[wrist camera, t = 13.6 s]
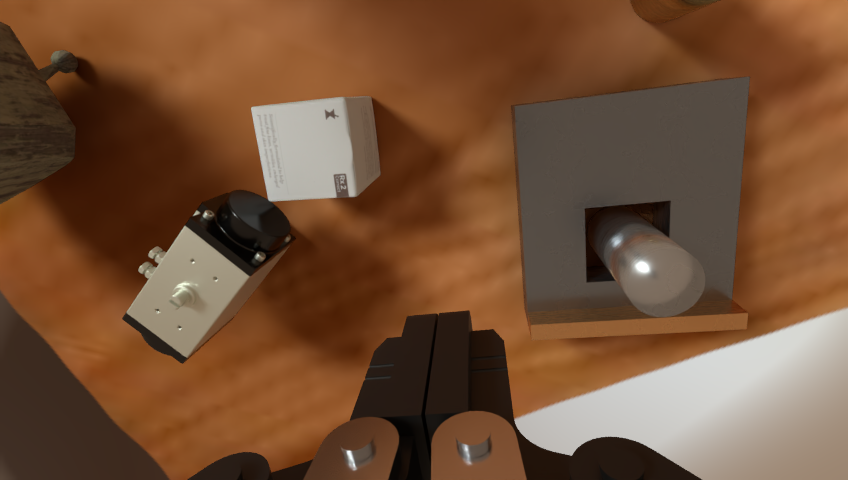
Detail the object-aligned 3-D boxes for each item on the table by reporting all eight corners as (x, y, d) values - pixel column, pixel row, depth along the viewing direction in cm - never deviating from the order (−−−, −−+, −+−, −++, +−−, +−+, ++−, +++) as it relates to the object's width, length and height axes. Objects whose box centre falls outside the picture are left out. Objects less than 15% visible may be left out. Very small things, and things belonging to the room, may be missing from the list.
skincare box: (294, 103, 34) (246, 104, 27) (373, 95, 33) (344, 95, 26) (308, 183, 36) (266, 203, 29) (382, 177, 35) (358, 197, 28)
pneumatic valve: (328, 208, 36) (259, 259, 25) (251, 304, 39) (160, 388, 28) (273, 162, 35) (176, 192, 24) (200, 264, 39) (85, 333, 27)
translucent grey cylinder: (586, 208, 34) (626, 252, 24) (642, 202, 33) (707, 246, 23) (587, 258, 35) (626, 319, 25) (642, 254, 34) (703, 314, 25)
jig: (511, 105, 32) (517, 107, 27) (723, 78, 30) (770, 74, 25) (524, 308, 37) (531, 340, 32) (710, 297, 34) (746, 329, 30)
